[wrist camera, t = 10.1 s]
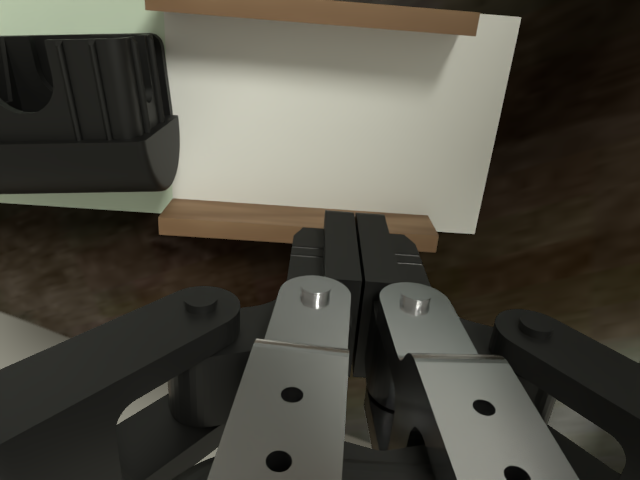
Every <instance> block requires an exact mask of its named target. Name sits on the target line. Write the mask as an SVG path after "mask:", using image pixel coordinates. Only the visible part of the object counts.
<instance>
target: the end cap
mask: <svg viewBox="0 0 640 480" xmlns="http://www.w3.org/2000/svg"><path fill="white" fill-rule="evenodd" d="M179 152H180V131H179V119H178V115H173V111H172V103H171V95H170V88H169V80H168V73H167V65H166V57H165V50H164V44H163V42H162V39H161V38H160V37H159V36H158V35H157V34H153V33H123V34H67V35H11V36H0V194H47V193H105V192H160V191H165V190H167V189H168V188H169V187H170V186H171V185H172V183H173V181H174V179H175V176H176V173H177V168H178V163H179Z"/></svg>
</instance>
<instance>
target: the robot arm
mask: <svg viewBox="0 0 640 480" xmlns="http://www.w3.org/2000/svg"><path fill="white" fill-rule="evenodd" d="M351 365H352V366H353V377H365V378H366V382H367V386H366V393H365V399H364V410H365V416H366V421H367V426H368V431H369V437H370V442H371V447H372V449H370V448H367V447H363V446H360V445H356V444H352V443H349V442H345V441H344V433H345V416H346V399H347V382H348V377H350V373H351ZM167 381H168V390H169V394H167V395H166V396H164V397H162V398H160V399H159V400H157V401H155V402H154V403H152V404H151V405H149V406H147V407H146V408H144V409H142V410H141V411H139V412H137V413H136V414H134V415H133V416H131V417H129V418H128V419H126V420H124V421H123V422H121V423H120V424H118V425H116V424H117V421H118V419H119V417H120V415H121V414H122V412H123V411H124V410H125V408H126V407H127V406H128V405H129V404H131V403H132V402H133V401H135V400H136V399H138V398H140V397H142V396H143V395H145V394H147V393H148V392H150V391H152V390H153V389H155V388H157V387H159V386H160V385H162V384H164V383H165V382H167ZM556 399H557V400H558V401H560V402H562V403H563V404H565V405H566V406H568V407H569V408H571V409H572V410H574V411H575V412H577V413H579V414H580V415H582V416H583V417H585V418H586V419H588V420H589V421H591V422H593V423H594V424H596V425H597V426H599V427H600V428H602V429H603V430H605V431H606V432H608V433H609V434H611V435H612V436H613V437H614V438H615V439H616V440H617V441H618V442H619V443H620V445H621V446H622V448H623V450H624V452H625V455H626V465H625V467H624V469H623V472H622V474H619V473H617V472H615V471H614V470H612V469H611V468H609V467H608V466H607V465H605V464H604V463H602V462H601V461H599V460H598V459H597V458H595V457H594V456H592V455H591V454H589V453H588V452H586V451H585V450H584V449H582V448H581V447H579V446H578V445H576V444H575V443H573V442H572V441H571V440H569V439H568V438H566V437H565V436H563V435H562V434H560V433H559V432H558V431H556V430H555V429H553V428H552V427H550V426H549V425H547V424H548V421H549V418H550V415H551V412H552V410H553V407H554V404H555V401H556ZM217 447H218V449H217V452H216V456H215V457H213V458H210V459H207V460H205V461H203V462H200V463H198V462H199V461H200V460H202V459H203V458H204V457H206V456H207V455H208V454H210V453H211V452H212V451H213V450H215V449H216V448H217ZM196 463H198V464H196ZM195 464H196V465H195ZM0 480H640V364H639V363H637V362H635V361H633V360H631V359H629V358H627V357H625V356H624V355H622V354H620V353H618V352H616V351H614V350H612V349H610V348H608V347H607V346H605V345H603V344H601V343H599V342H597V341H595V340H593V339H591V338H590V337H588V336H586V335H584V334H582V333H580V332H578V331H576V330H574V329H573V328H571V327H569V326H567V325H565V324H563V323H561V322H559V321H557V320H556V319H554V318H551V317H549V316H547V315H544V314H542V313H538V312H535V311H530V310H523V309H512V310H506V311H504V312H501V313H500V314H498V316H497V317H496V319H495V323H494V327H490V326H486V325H482V324H479V323H475V322H471V321H468V320H464V319H462V318H459V317H458V316H457V314H456V312H455V310H454V308H453V306H452V304H451V302H450V301H449V299H448V298H447V297H446V296H445V295H444V294H443V293H441V292H440V291H438V290H436V289H434V288H432V287H431V286H430V283H429V281H428V278H427V275H426V272H425V269H424V267H423V265H422V261H421V258H420V257H419V253H418V250H417V247H416V244H415V243H413V242H412V241H411V240H410V239H409V238H407V237H406V236H405V235H404V234H390V233H389V230H388V226H387V222H386V218H385V215H384V214H371V213H358V212H356V213H355V217H354V212H343V211H330V210H325V217H324V228H323V229H321V228H307V227H303V228H302V229H301V230H299V231H298V232H297V233H296V234H295V235H294V236H293V243H292V250H291V257H290V264H289V271H288V278H287V282H285V283H284V284H283V285H282V286H281V288H280V291H279V294H278V297H277V299H276V300H274V301H272V302H269V303H267V304H263V305H260V306H254V307H246V308H240V302H239V300H238V298H237V297H236V296H235V295H234V294H232V293H231V292H229V291H227V290H224V289H221V288H217V287H209V286H199V287H191V288H187V289H183V290H180V291H177V292H175V293H173V294H171V295H168V296H166V297H164V298H162V299H159V300H157V301H155V302H152V303H150V304H148V305H146V306H143V307H141V308H139V309H137V310H134V311H132V312H130V313H128V314H125V315H123V316H121V317H118V318H116V319H114V320H112V321H109V322H107V323H105V324H103V325H100V326H98V327H96V328H94V329H91V330H89V331H87V332H84V333H82V334H80V335H78V336H75V337H73V338H71V339H69V340H66V341H64V342H62V343H59V344H57V345H55V346H53V347H51V348H48V349H46V350H44V351H41V352H39V353H37V354H35V355H32V356H30V357H28V358H26V359H23V360H21V361H19V362H16V363H14V364H12V365H10V366H7V367H5V368H3V369H1V370H0Z"/></svg>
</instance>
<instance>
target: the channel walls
mask: <svg viewBox="0 0 640 480" xmlns="http://www.w3.org/2000/svg"><path fill="white" fill-rule="evenodd" d="M145 10H150V11H162V12H175V13H187V14H200V15H213V16H225V17H238V18H250V19H263V20H275V21H288V22H300V23H313V24H326V25H338V26H351V27H363V28H376V29H388V30H401V31H414V32H426V33H439V34H451V35H464V36H476V33H477V27H478V22H479V17H480V13H479V12H467V11H454V10H442V9H430V8H417V7H405V6H393V5H381V4H368V3H356V2H344V1H331V0H145ZM325 210H330V211H343V212H354V217H355V213H356V212H358V213H371V214H384V215H385V218H386V222H387V226H388V230H389V233H390V234H404V235H405V236H406V237H407V238H409V239H410V240H411V241H412V242H413V243H415V244H416V247H417V250H418V251H420V252H435V253H436V249H437V244H438V238H439V235H438V233H437V231H436V229H435V228H434V226H433V224H432V222H431V220H430V218H429V217H428V215H414V214H400V213H385V212H370V211H355V210H340V209H325V208H310V207H295V206H280V205H266V204H251V203H236V202H221V201H206V200H191V199H176V198H173V199H172V200H171V201H170V202H169V204H168V205H167V206H166V208H165V209H164V210H163V212H162V213H161V214H160V215H159V217H158V225H159V235H173V236H188V237H203V238H219V239H234V240H250V241H265V242H281V243H293V236H294V235H295V234H296V233H297V232H298V231H299V230H301V229H302V228H303V227H307V228H321V229H323V228H324V217H325Z"/></svg>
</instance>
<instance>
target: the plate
mask: <svg viewBox="0 0 640 480" xmlns="http://www.w3.org/2000/svg"><path fill="white" fill-rule="evenodd" d="M520 22H521V17H513V16H501V15H488V14H480V17H479V22H478V27H477V33H476V36H464V35H451V34H439V33H426V32H414V31H401V30H388V29H376V28H363V27H351V26H338V25H326V24H313V23H300V22H288V21H275V20H263V19H250V18H238V17H225V16H213V15H200V14H187V13H175V12H162V11H150V10H145V0H0V36H11V35H67V34H123V33H153V34H157V35H158V36H159V37H160V38H161V39H162V42H163V44H164V50H165V57H166V65H167V73H168V80H169V88H170V95H171V103H172V111H173V115H178V119H179V131H180V152H179V163H178V168H177V173H176V176H175V179H174V181H173V183H172V185H171V186H170V187H169V188H168V189H167V190H165V191H160V192H105V193H47V194H0V203H11V204H26V205H41V206H56V207H72V208H87V209H102V210H117V211H132V212H147V213H162V212H163V210H164V209H165V208H166V206H167V205H168V204H169V202H170V201H171V200H172V199H173V198H176V199H191V200H206V201H221V202H236V203H251V204H266V205H280V206H295V207H310V208H325V209H340V210H355V211H370V212H385V213H400V214H414V215H428V217H429V218H430V220H431V222H432V224H433V226H434V228H435V229H436V231H437V232H450V233H465V234H475V230H476V225H477V221H478V216H479V211H480V207H481V202H482V197H483V193H484V188H485V184H486V179H487V174H488V170H489V165H490V160H491V156H492V151H493V147H494V142H495V137H496V133H497V128H498V123H499V119H500V114H501V110H502V105H503V100H504V96H505V91H506V86H507V82H508V77H509V73H510V68H511V63H512V59H513V54H514V49H515V45H516V40H517V35H518V31H519V26H520Z"/></svg>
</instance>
